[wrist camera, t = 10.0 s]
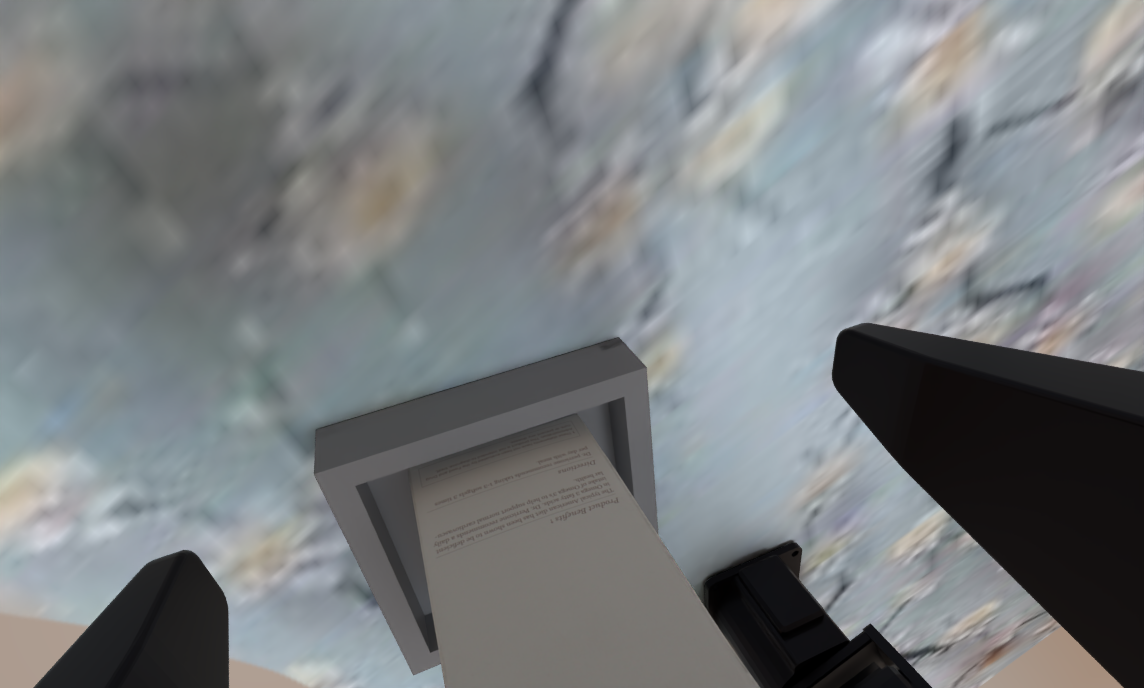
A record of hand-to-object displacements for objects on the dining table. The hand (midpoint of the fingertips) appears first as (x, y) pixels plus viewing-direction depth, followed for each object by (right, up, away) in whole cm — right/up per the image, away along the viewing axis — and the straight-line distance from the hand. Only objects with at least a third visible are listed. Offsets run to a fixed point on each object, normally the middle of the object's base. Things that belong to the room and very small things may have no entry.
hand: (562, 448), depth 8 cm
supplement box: (-3, -5, +17) cm, 18 cm away
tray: (-3, -5, +17) cm, 18 cm away
